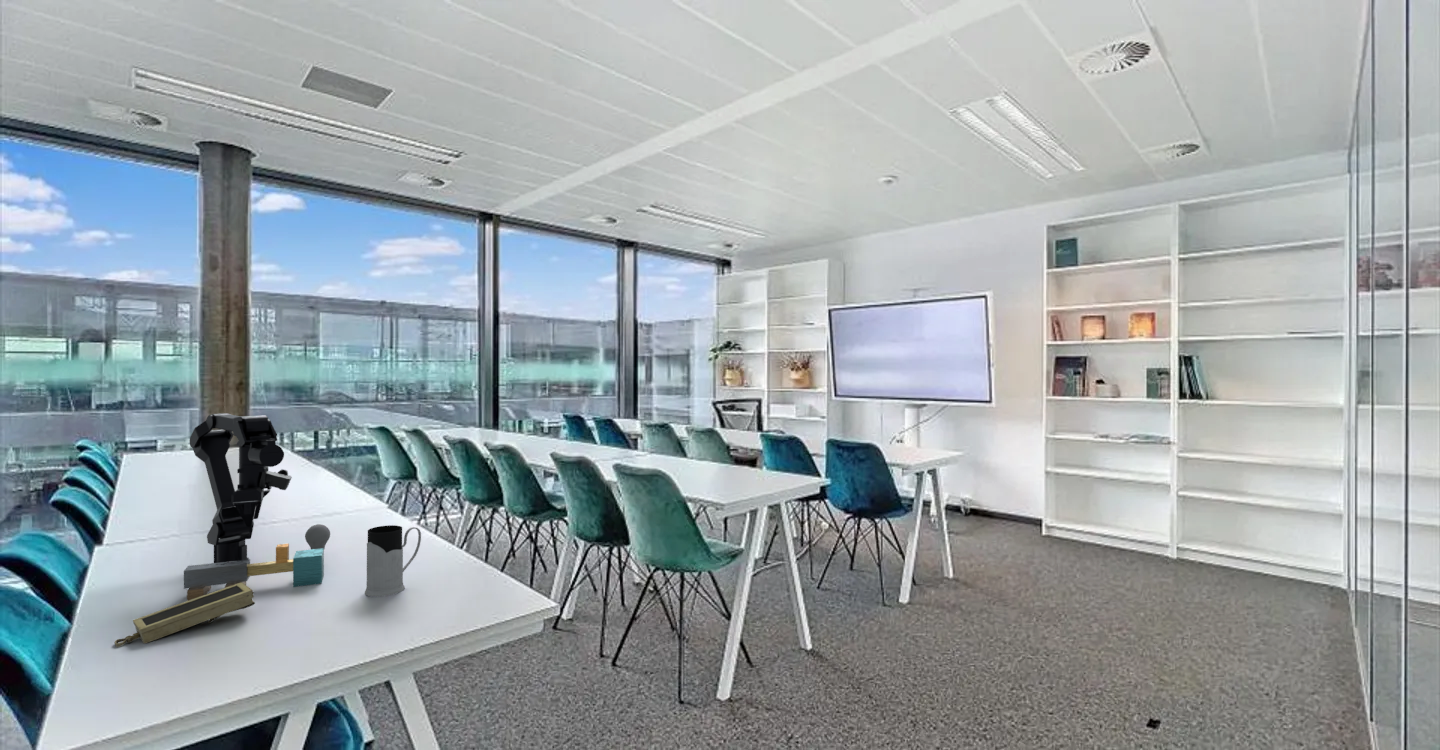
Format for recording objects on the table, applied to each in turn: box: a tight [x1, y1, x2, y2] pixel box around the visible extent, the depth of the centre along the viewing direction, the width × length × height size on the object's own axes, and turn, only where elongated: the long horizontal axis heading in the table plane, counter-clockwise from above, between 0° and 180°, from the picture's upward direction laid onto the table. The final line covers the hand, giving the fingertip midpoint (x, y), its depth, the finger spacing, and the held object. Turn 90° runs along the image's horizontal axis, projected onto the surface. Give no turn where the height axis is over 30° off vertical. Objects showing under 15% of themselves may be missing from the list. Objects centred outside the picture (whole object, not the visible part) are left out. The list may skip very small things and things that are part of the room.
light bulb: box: [304, 523, 331, 550], centre depth 181 cm, size 6×6×10 cm
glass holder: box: [364, 524, 422, 598], centre depth 161 cm, size 9×14×15 cm, turn 152°
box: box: [114, 582, 256, 648], centre depth 135 cm, size 8×22×5 cm, turn 141°
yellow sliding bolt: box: [247, 543, 293, 577], centre depth 160 cm, size 19×3×6 cm, turn 118°
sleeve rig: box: [183, 548, 325, 601], centre depth 159 cm, size 28×8×7 cm, turn 118°
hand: (252, 522), depth 171 cm, fingers open, 9 cm apart
